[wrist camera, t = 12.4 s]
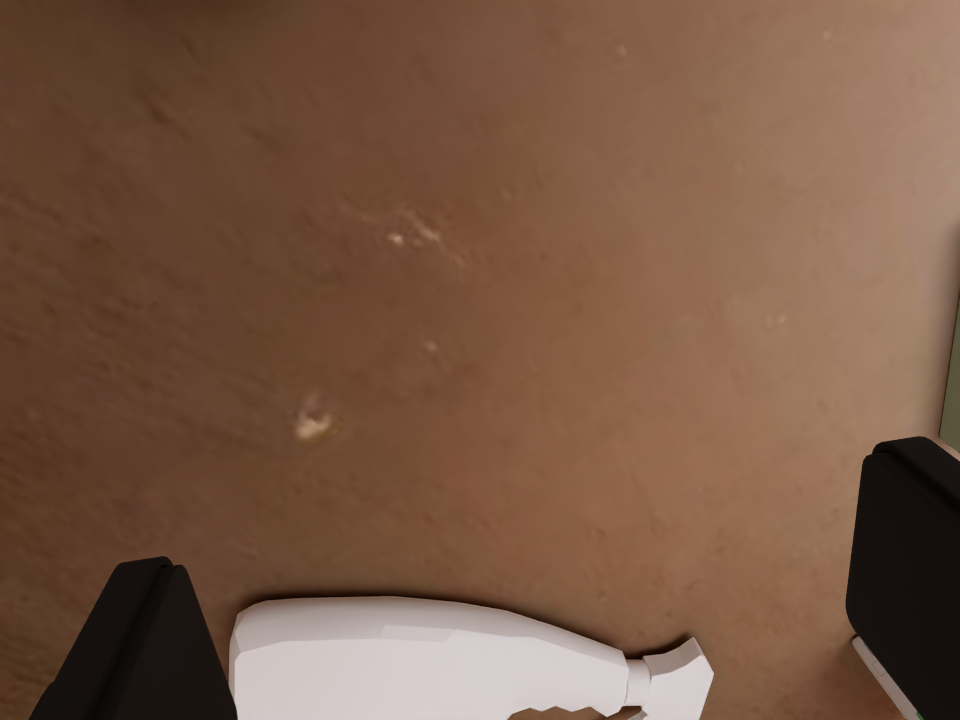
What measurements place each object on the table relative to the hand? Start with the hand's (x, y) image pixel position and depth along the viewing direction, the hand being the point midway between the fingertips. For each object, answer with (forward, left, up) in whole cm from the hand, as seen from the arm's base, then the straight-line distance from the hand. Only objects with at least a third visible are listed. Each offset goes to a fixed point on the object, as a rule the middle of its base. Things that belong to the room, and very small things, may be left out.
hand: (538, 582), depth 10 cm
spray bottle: (+24, -2, -20) cm, 31 cm away
